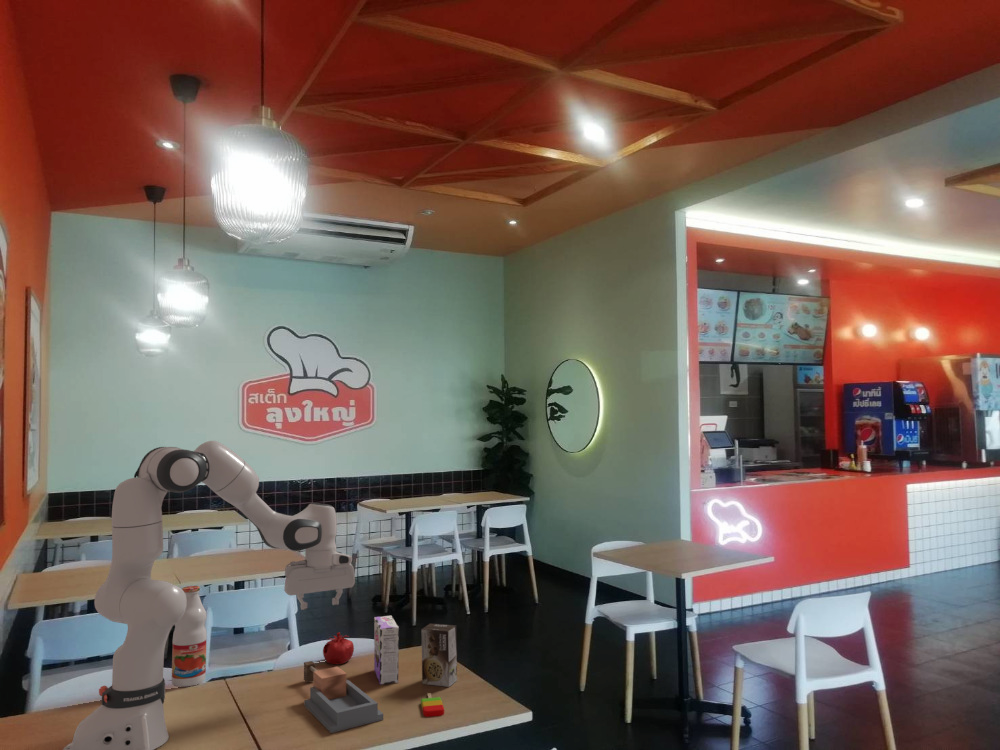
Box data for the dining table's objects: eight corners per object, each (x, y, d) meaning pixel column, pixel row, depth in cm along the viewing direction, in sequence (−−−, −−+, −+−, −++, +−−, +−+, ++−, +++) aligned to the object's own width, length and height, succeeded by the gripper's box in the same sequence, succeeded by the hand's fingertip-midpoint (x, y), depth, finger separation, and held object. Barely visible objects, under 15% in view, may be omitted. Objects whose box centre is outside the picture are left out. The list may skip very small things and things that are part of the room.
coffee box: (457, 680, 207) (457, 625, 209) (449, 687, 201) (448, 631, 203) (430, 676, 211) (430, 622, 212) (420, 684, 205) (420, 628, 206)
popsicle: (423, 719, 181) (423, 711, 181) (419, 697, 195) (419, 690, 196) (444, 717, 182) (444, 709, 182) (438, 696, 197) (438, 689, 197)
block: (321, 705, 188) (321, 678, 188) (296, 681, 207) (296, 656, 207) (346, 699, 192) (346, 673, 192) (319, 676, 210) (319, 652, 211)
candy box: (373, 670, 217) (373, 616, 219) (392, 667, 219) (392, 614, 220) (379, 685, 204) (379, 628, 205) (399, 682, 206) (399, 626, 207)
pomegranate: (357, 657, 230) (358, 628, 231) (347, 667, 220) (348, 637, 221) (329, 655, 232) (330, 627, 232) (317, 665, 222) (318, 635, 223)
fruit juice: (203, 674, 215) (205, 582, 217) (207, 683, 207) (210, 588, 209) (169, 680, 210) (172, 586, 212) (173, 689, 202) (175, 592, 204)
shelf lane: (331, 733, 172) (331, 714, 172) (304, 705, 189) (304, 688, 189) (383, 719, 179) (383, 701, 180) (353, 694, 197) (353, 678, 197)
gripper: (288, 563, 194) (287, 614, 193) (357, 556, 206) (356, 604, 205) (282, 560, 200) (280, 609, 198) (349, 553, 211) (348, 600, 210)
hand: (319, 606), depth 202 cm, fingers open, 8 cm apart
